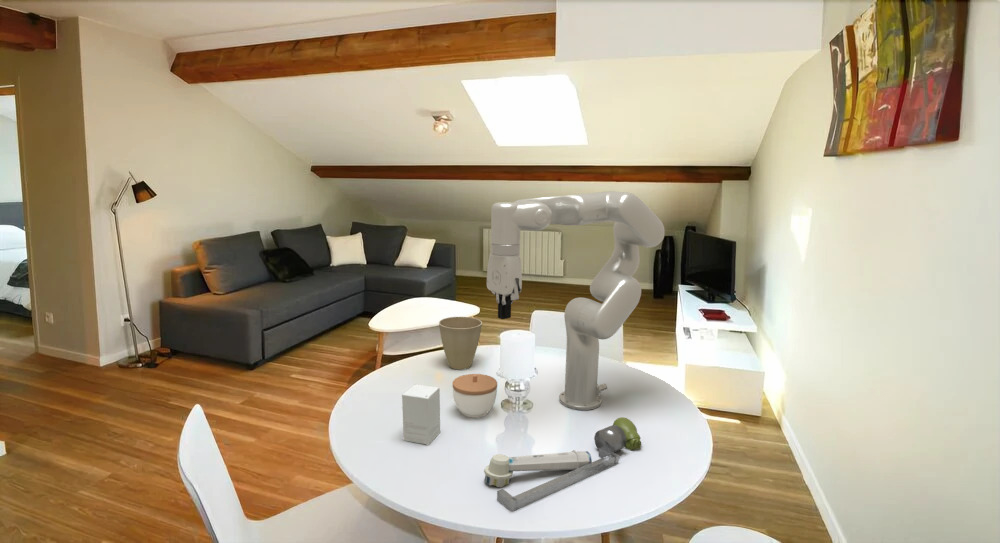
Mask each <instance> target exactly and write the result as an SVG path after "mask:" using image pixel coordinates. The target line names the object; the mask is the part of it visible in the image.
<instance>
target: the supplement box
mask: <svg viewBox="0 0 1000 543" xmlns="http://www.w3.org/2000/svg"><path fill="white" fill-rule="evenodd" d="M440 394H441V393H440V387H437V386H430V385H429V386H428V385H422V384H417V383H415V384H414V385H412V386H411V387H410V388H409V389H407V390H406V391H405V392H403V393H402V394H401V400H402V425H403V426H402V427H403V428H402V430H403V431H402V432H403V441H406V442H412V443H417V444H423V445H427V446H428V445H430V444H432V442H433V441H434V440H435V439H436V438H437V437H438V436H439V434H440V433H441V403H440V402H441V400H440V399H441V398H440V396H441V395H440Z"/></svg>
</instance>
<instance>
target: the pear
mask: <svg viewBox="0 0 1000 543" xmlns="http://www.w3.org/2000/svg"><path fill="white" fill-rule="evenodd" d="M612 425H617V426H619V427H620V428H621V429H622V430H623V431H624V433H625V435H626V439H627V443H626V446H625V448H624V449H627V450H639V449H641V446H642V440H641V436H640V434H639V433H638V430H637V426H636V425H635V423H634V422H633V421H632V420H631V419H629V418H627V417H618V418H616V419H615V420H614V422H613V423H612Z"/></svg>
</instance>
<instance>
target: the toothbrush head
mask: <svg viewBox="0 0 1000 543" xmlns="http://www.w3.org/2000/svg"><path fill="white" fill-rule="evenodd" d="M489 460H490V461H489V465H486V466H485V468H484V470H483V473H484V475H485V477H484V482H485V483H486V485H489V486H490V487H491V486H496V488H504V486H507V485H509V484H510V481H511V478H512V476H513V474H514V472H538V471H540V472H542V471H544V472H545V471H573V470H576V469H578V468H580V467H583V466H585V465H587V464H589V463H592V462H593V460H592V455H591V453H590V452H589V451H576V449H573V450H572V451H565V452H554V453H553V452H552V453H543V454H533V455H532V454H531V455H521V456H519V455H518V456H510V457H509V456H507V455H504V454H500V453H499V454H494V455H492V457H491V459H489Z"/></svg>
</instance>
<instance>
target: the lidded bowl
mask: <svg viewBox="0 0 1000 543" xmlns="http://www.w3.org/2000/svg"><path fill="white" fill-rule="evenodd" d="M497 392H498V381H497V380H496V379H495V378H494V377H492V376H490V375H488V374H481V373H469V374H463V375H460V376H457V377H456V378H454V379H453V381H452V394H453V395H452V396H453V401H454V404H455V406H456V408H457V409H458V411H459V412H461V413H463V414H462V415H463V416H464V415H465V417H467V418H471V419H472V418H473V419H475V418H476V419H478V417H479V418H482V417H485V416H486V415H487V414H488V412H490V410H492V409H493V406H494V405H495V403H496V399H497Z"/></svg>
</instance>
